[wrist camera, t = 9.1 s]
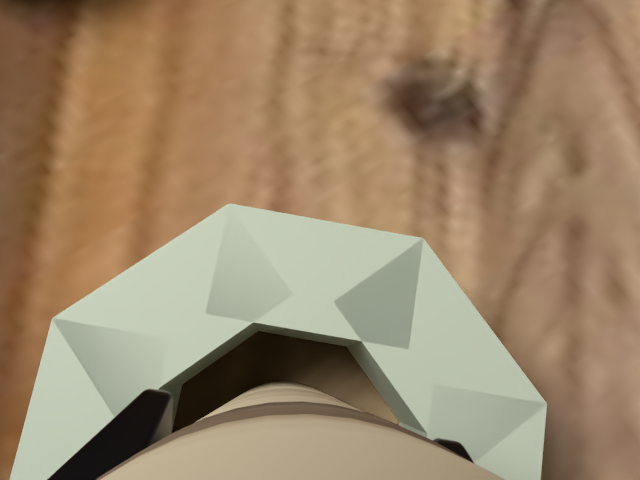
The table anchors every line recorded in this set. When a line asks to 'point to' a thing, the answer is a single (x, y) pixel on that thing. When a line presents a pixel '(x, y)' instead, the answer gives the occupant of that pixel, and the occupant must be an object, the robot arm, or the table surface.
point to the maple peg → (295, 444)
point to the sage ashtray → (289, 320)
